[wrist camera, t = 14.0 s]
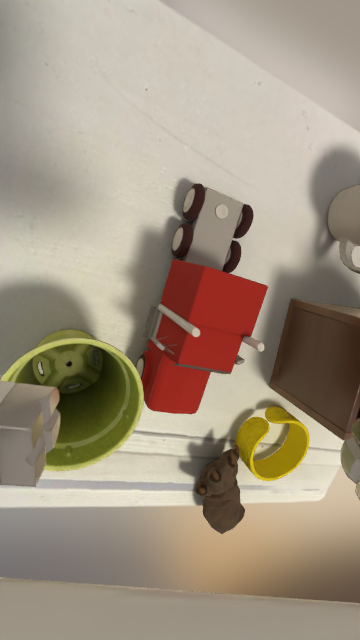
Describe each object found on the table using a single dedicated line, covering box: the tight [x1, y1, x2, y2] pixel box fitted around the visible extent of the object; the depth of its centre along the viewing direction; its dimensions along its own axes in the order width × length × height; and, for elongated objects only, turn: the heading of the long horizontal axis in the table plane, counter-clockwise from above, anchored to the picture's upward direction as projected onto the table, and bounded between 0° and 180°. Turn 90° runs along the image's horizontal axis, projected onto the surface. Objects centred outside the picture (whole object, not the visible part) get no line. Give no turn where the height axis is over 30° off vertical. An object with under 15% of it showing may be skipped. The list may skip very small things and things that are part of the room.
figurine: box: [195, 444, 245, 534], centre depth 37 cm, size 6×4×12 cm
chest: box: [269, 299, 360, 440], centre depth 34 cm, size 12×11×11 cm
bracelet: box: [236, 406, 309, 481], centre depth 38 cm, size 7×8×3 cm
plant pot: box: [0, 329, 144, 471], centre depth 25 cm, size 9×9×9 cm
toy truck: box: [136, 184, 268, 414], centre depth 27 cm, size 8×19×10 cm, turn 162°
